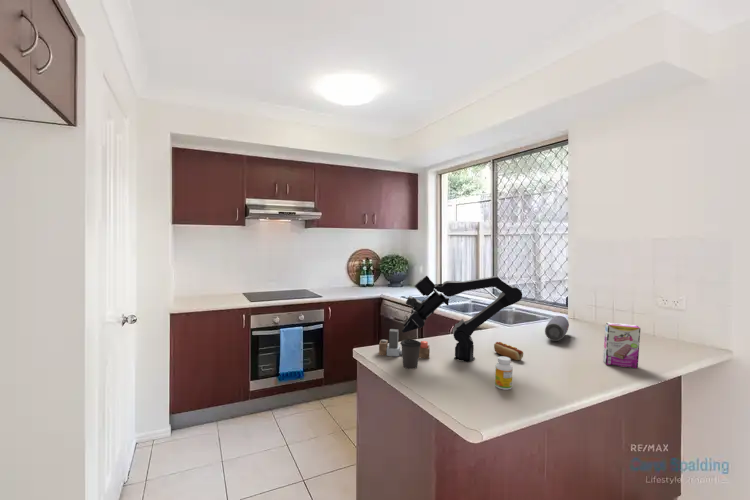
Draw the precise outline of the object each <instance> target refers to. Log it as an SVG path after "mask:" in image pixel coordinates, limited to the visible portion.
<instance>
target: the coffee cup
mask: <svg viewBox="0 0 750 500" xmlns="http://www.w3.org/2000/svg"><path fill="white" fill-rule="evenodd" d="M399 345H400V347H401V350H402V355H401V356H402V367H403V368H405V369H407V370H415V369H417V368H418V364H419V358H418V357H419V350H420V346H421V341H419V340H416V339H410V338H409V339H403V340H401V341H400V343H399Z"/></svg>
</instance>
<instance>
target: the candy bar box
mask: <svg viewBox="0 0 750 500" xmlns="http://www.w3.org/2000/svg"><path fill="white" fill-rule="evenodd" d="M603 337H604V338H603V339H604V340H603V354H602V361H603V363H604V365H607V366H613V367H623V368H629V367H631V369H637V368H639V355H640V354H639V353H640V342H641V341H640V339H641V338H640V337H641V327H640V326H639V325H636V324H627V323H617V322H608V321H607V322H605V323H604V336H603Z"/></svg>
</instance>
